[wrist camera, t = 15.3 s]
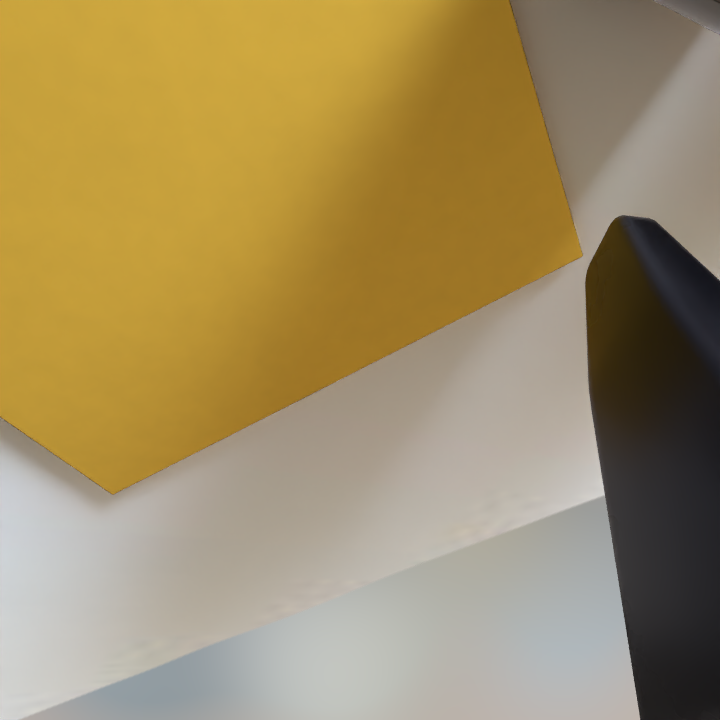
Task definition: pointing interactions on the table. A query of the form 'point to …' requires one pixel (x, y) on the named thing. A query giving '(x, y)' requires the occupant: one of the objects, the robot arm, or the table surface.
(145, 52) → the cloth
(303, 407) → the table surface
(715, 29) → the supplement bottle
